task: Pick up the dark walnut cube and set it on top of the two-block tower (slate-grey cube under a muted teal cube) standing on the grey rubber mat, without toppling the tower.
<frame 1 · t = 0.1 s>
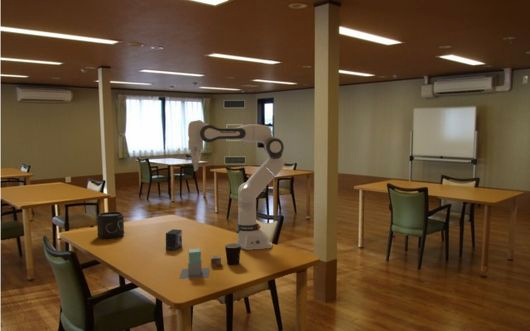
hand: (196, 170, 243), 48 cm above the table, fingers open, 8 cm apart
walnut block: (216, 266, 212), on the table
coffee mug: (234, 263, 217), on the table
small box: (174, 248, 246), on the table
mat: (195, 273, 200), on the table
slate block: (194, 267, 200), on the mat, touching teal block
teal block: (194, 261, 200), point 6 cm above the table, touching slate block
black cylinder: (111, 236, 275), on the table
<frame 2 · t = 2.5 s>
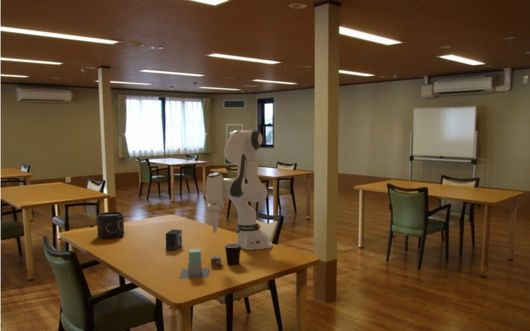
hand: (215, 230, 210), 19 cm above the table, fingers open, 8 cm apart
nothing on the table moved.
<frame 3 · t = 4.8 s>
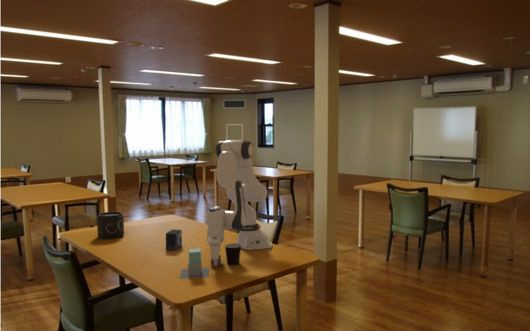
hand: (216, 262, 212), 2 cm above the table, fingers closed on walnut block, 5 cm apart
walnut block: (216, 265, 212), on the table, touching gripper
everything else where it was.
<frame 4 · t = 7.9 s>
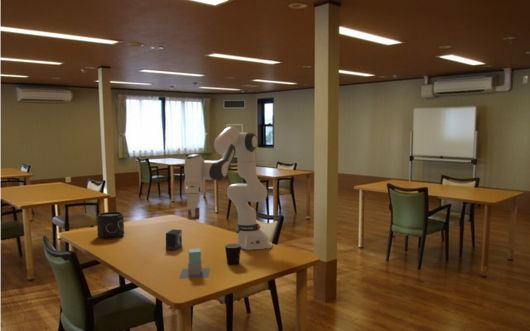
hand: (194, 215, 198), 30 cm above the table, fingers closed on walnut block, 5 cm apart
walnut block: (194, 218, 198), point 28 cm above the table, touching gripper
everything else where it was.
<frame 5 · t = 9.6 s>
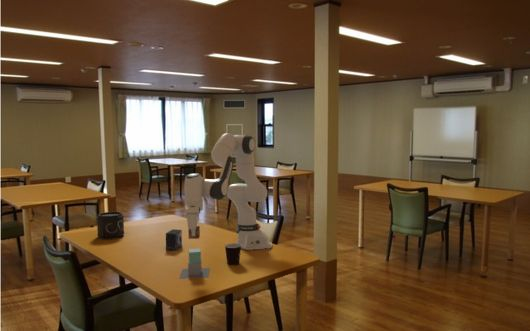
hand: (194, 234, 199), 20 cm above the table, fingers closed on walnut block, 5 cm apart
walnut block: (194, 237, 199), point 19 cm above the table, touching gripper
everything else where it was.
when the fingers open (14 cm above the table, at t = 11.2 s): walnut block stays where it is, resting on teal block.
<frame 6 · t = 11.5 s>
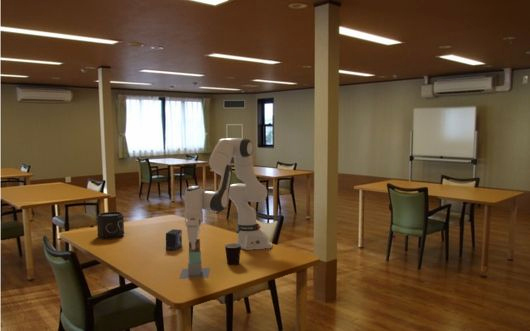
hand: (194, 246, 199), 14 cm above the table, fingers open, 8 cm apart
walnut block: (194, 250, 199), point 12 cm above the table, touching teal block
teal block: (194, 261, 200), point 6 cm above the table, touching slate block, walnut block
everything else where it was.
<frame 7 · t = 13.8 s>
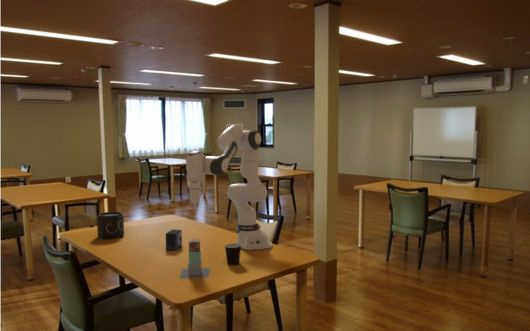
hand: (196, 208, 209), 31 cm above the table, fingers open, 8 cm apart
nothing on the table moved.
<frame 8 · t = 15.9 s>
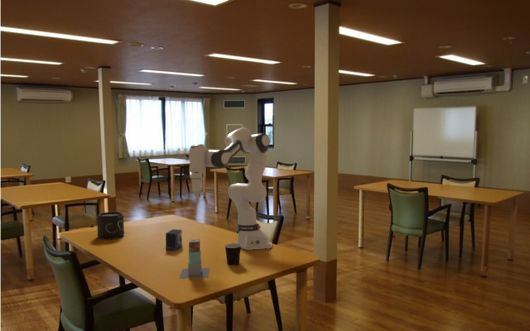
hand: (198, 198, 222), 34 cm above the table, fingers open, 8 cm apart
nothing on the table moved.
at the end: walnut block 0.1 cm off-centre on the teal block, point 5.5 cm above the teal block's base; teal block tilted 0°; walnut block point 11.9 cm above the table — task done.
